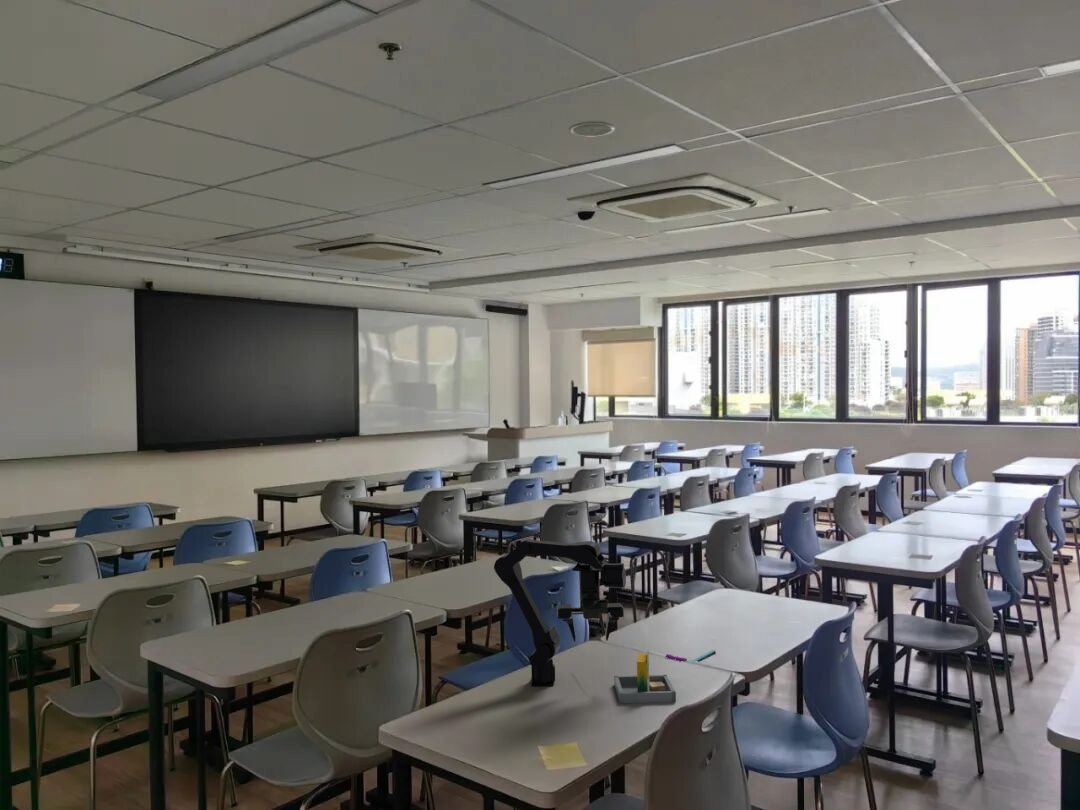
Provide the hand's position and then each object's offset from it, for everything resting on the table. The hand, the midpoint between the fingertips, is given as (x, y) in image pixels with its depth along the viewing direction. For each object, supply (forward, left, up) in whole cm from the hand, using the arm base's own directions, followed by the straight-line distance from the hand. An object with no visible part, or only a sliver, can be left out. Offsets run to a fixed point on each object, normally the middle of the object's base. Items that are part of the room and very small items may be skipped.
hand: (590, 640), depth 228 cm
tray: (+14, -8, -13) cm, 21 cm away
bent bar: (+29, +20, -14) cm, 38 cm away
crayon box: (+14, -8, -13) cm, 20 cm away
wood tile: (+18, -5, -12) cm, 22 cm away
